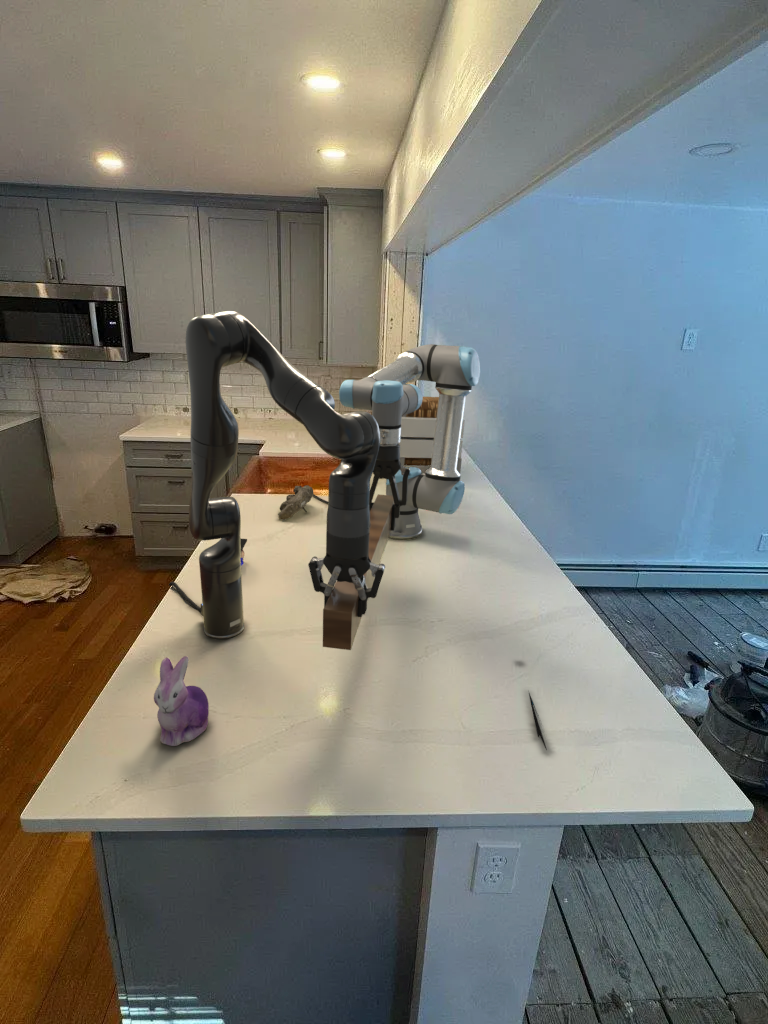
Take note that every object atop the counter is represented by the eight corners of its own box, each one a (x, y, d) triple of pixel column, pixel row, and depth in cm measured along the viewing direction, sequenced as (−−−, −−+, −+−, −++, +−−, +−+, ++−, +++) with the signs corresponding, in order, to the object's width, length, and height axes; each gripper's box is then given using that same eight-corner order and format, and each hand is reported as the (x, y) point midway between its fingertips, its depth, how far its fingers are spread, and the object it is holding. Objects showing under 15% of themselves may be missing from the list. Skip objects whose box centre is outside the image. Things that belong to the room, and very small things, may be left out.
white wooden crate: (382, 463, 289) (386, 382, 275) (445, 464, 293) (451, 384, 279) (390, 482, 257) (394, 392, 243) (460, 483, 261) (468, 394, 247)
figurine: (161, 756, 98) (153, 683, 93) (154, 719, 106) (146, 651, 101) (216, 740, 102) (211, 669, 97) (205, 705, 111) (200, 639, 106)
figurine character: (238, 584, 162) (249, 557, 175) (236, 562, 158) (247, 536, 172) (215, 584, 161) (227, 556, 175) (212, 561, 158) (225, 535, 171)
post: (376, 519, 160) (377, 494, 157) (394, 521, 159) (395, 495, 157) (322, 647, 99) (323, 609, 96) (350, 650, 98) (352, 612, 96)
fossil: (283, 491, 225) (311, 471, 220) (299, 509, 228) (327, 489, 223) (268, 515, 206) (298, 494, 201) (285, 535, 209) (316, 514, 204)
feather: (520, 667, 129) (525, 661, 129) (546, 754, 103) (553, 747, 102) (514, 663, 129) (519, 657, 129) (538, 750, 103) (545, 742, 102)
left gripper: (302, 531, 96) (302, 619, 102) (386, 540, 94) (381, 628, 100) (313, 516, 103) (312, 599, 109) (391, 524, 101) (386, 607, 107)
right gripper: (347, 443, 142) (346, 529, 150) (419, 449, 140) (414, 535, 148) (353, 437, 149) (351, 519, 157) (422, 442, 147) (417, 525, 155)
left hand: (345, 612), depth 104 cm, fingers closed on post, 5 cm apart
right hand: (382, 527), depth 153 cm, fingers closed on post, 5 cm apart
